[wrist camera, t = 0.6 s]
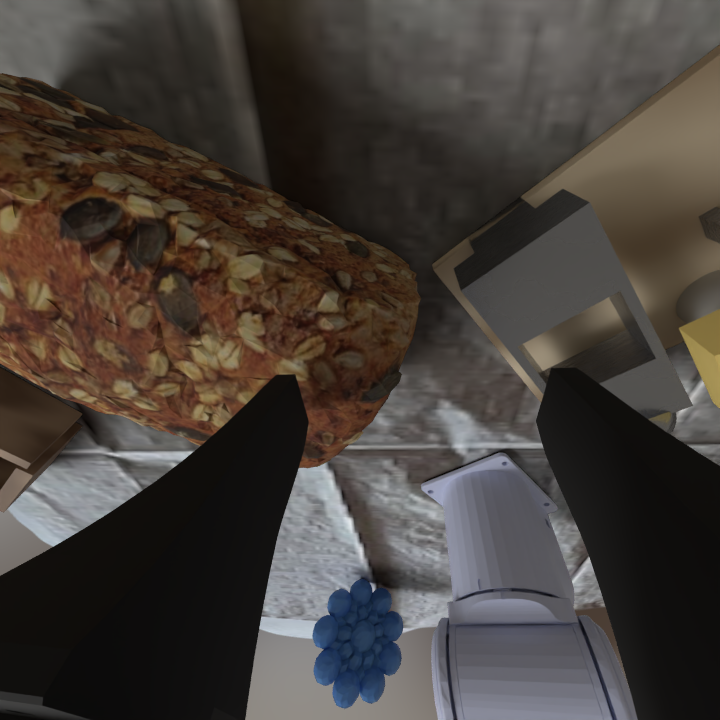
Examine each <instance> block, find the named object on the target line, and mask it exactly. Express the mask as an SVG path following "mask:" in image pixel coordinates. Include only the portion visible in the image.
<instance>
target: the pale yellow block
mask: <svg viewBox="0 0 720 720" xmlns="http://www.w3.org/2000/svg"><path fill="white" fill-rule="evenodd" d="M676 313H677V315H678V317H679V318H680V319H681V320H683V321H684V322H685V323H687V324H686V325H684V326H682V327H680V328H679V330H680V332H681V334H682V336H683V338H684V341H685V343H686V345H687V347H688V349H689V351H690V354H691V356H692V358H693V360H694V362H695V364H696V367H697V369H698V371H699V373H700V375H701V377H702V380H703V382H704V384H705V386H706V388H707V390H708V392H709V395H710V397H711V399H712V401H713V403H714V404H715V405H716V406H718V407H719V408H720V270H716V271H713V272H711V273H708V274H706V275H704V276H702V277H700V278H699V279H697V280H696V281H694V282H693V283H692V284H690V285H689V286H688V287H687V288H686V289H685V290H684V291H683V293H682V294H681V296H680V297H679V299H678V301H677V305H676Z"/></svg>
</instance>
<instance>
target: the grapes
mask: <svg viewBox="0 0 720 720" xmlns="http://www.w3.org/2000/svg"><path fill="white" fill-rule="evenodd" d="M391 604H392V599H391V594H390V593H389V592H388V590H386V589H384V588H378V589H376V590H375V591H374V592H373V593H372V587H371V584H370V583H369V582H368V581H367V580H364V579H360V580H357V581H356V582H355V583H354V584H353V585H352V586H351V589H350V593H349V592H348V591H347V590H344V589H339V590H336V591H335V592H334V593H333V594H332V595H331V596H330V598H329V601H328V607H327V608H328V612H329V614H330V615H326V616H323V617H322V618H320V619H319V621H318V622H317V623H316V624H315V627H314V630H313V640H314V643H315V645H316V646H317V647H320V648H322V649H324V650H323V651H322V652H321V653H320V654H319V656H318V657H317V658H316V662H315V666H314V675H315V678H316V681H317V682H318V683H320V684H322V685H325V686H326V685H329V684H332V683H333V682H334V685H333V698H334V701H335V703H336V705H337V706H339V707H341V708H348V707H350V706H352V705H353V703H354V702H355V701H356V699H357V698H358V696H359V693H360V696H361V698H362V700H363V701H366V702H368V703H371V704H372V703H374V702H377V701H378V699H379V698H380V697H381V695H382V693H383V691H384V687H385V677H384V674H386V675H388V676H390V675H393V674H395V673H396V671H397V670H398V668H399V666H400V664H401V659H402V658H401V651H400V648H399V647H398V645H397V644H396V643H394V642H393V641H396V640H397V639H398V638H399V637H400V635H401V634H402V631H403V621H402V617H401V616H400V615H399V614H398V613H397V612H394V611H390V612H388V611H389V609H390V608H391ZM334 680H335V681H334Z"/></svg>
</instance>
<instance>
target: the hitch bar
mask: <svg viewBox="0 0 720 720" xmlns="http://www.w3.org/2000/svg"><path fill="white" fill-rule="evenodd" d="M522 202H523V203H522ZM521 203H522V204H521ZM517 204H520V205H519V206H517ZM515 205H516V206H517V207H516V206H515ZM515 207H516V208H515ZM513 208H515V209H514V210H512V211H511V212H510V211H509V212H510V213H508V214H507V215H506V216H504V217H503V218H502V219H501V220H499V221H498V222H497V223H495V224H494V225H493V226H491V227H490V228H489V229H487V230H486V231H485V232H483V233H482V234H481V235H479V236H478V237H477V238H475V239H474V240H473V239H472V238H471V237H470V238H467V239H468V240H470V239H472V240H473V241H471V240H470V242H469V243H470V245H471V247H472V249H473V251H474V254H472V255H471V256H470V257H468V258H467V259H466V260H464V261H463V262H461V263H460V264H459V265H457V266H456V267H455V268H454V271H455V274H456V277H457V281H458V284H459V287H460V290H461V292H462V293H463V294H464V295H465V297H466V298H467V299H468V300H469V302H470V303H471V304H472V306H473V307H474V308H475V309H476V311H477V312H478V313H479V314H480V316H481V317H482V318H483V319H484V321H485V322H486V323H487V324H488V326H489V327H490V328H491V329H492V331H493V332H494V333H495V334H496V336H497V337H498V338H499V339H500V341H501V342H502V343H503V345H504V346H505V347H506V348H507V350H508V351H509V352H510V353H511V355H512V356H513V357H514V358H515V360H516V361H517V362H518V363H519V365H520V366H521V367H522V368H523V370H524V371H525V372H526V373H527V375H528V376H529V377H530V378H531V380H532V381H533V382H534V384H535V385H536V386H537V387H538V389H539V390H540V391H541V392H542V394H543V395H544V391H545V388H546V384H547V381H548V377H549V374H550V370H551V368H570V367H576V368H577V369H579V370H580V371H582V372H583V373H585V374H586V375H588V376H589V377H590V378H592V379H593V380H595V381H596V382H597V383H599V384H600V385H601V386H603V387H604V388H606V389H607V390H608V391H610V392H611V393H612V394H614V395H615V396H616V397H618V398H619V399H621V400H622V401H623V402H625V403H626V404H627V405H629V406H630V407H632V408H633V409H634V410H636V411H637V412H639V413H640V414H641V415H643V416H644V417H646V418H647V419H648V420H650V421H651V422H653V423H654V424H656V425H657V426H659V427H660V428H662V429H663V430H664V431H666V432H667V433H669V434H671V432H672V431H673V429H674V427H675V424H676V419H677V418H676V412H677V411H680V410H682V409H685V408H688V407H690V406H693V405H692V403H691V401H690V399H689V397H688V395H687V393H686V391H685V389H684V387H683V385H682V383H681V381H680V379H679V377H678V375H677V373H676V371H675V369H674V367H673V365H672V363H671V361H670V359H669V357H668V355H667V353H666V351H665V349H664V347H663V345H662V343H661V341H660V340H659V338H658V336H657V334H656V332H655V330H654V328H653V326H652V324H651V322H650V320H649V318H648V316H647V314H646V312H645V310H644V308H643V306H642V304H641V302H640V300H639V298H638V296H637V294H636V292H635V290H634V288H633V286H632V284H631V282H630V280H629V278H628V276H627V274H626V272H625V271H624V269H623V267H622V265H621V263H620V261H619V259H618V257H617V255H616V253H615V251H614V249H613V247H612V245H611V243H610V241H609V239H608V237H607V235H606V233H605V231H604V229H603V227H602V225H601V223H600V221H599V219H598V217H597V215H596V213H595V211H594V209H593V207H592V205H591V203H590V202H588V201H586V200H584V199H582V198H580V197H578V196H576V195H574V194H572V193H570V192H568V191H566V190H564V189H561V190H560V191H559V192H557V193H556V194H554V195H553V196H552V197H550V198H549V199H548V200H546V201H545V202H544V203H542V204H541V205H539V206H538V207H537V208H534V207H533V206H531V205H530V204H529V203H528V202H526V201H525V200H524V199H522V198H521V197H520V198H518V199H517V200H516V201H514V202H513V203H512V204H510V205H509V206H508V207H506V208H505V209H504V210H503V211H501V212H500V213H499V214H497V215H496V216H495V217H493V218H494V219H495V220H496V219H497V218H498V219H499V217H501V216H502V215H505V214H504V213H507V212H508V211H507V210H511V209H513ZM500 215H501V216H500ZM493 218H492V219H491V220H489V221H488V222H487V223H485V224H484V225H483V226H482V227H480V228H479V230H480V229H481V228H483V227H484V226H487V225H488V224H489V223H490V222H491V223H492V221H493V220H494V219H493ZM495 220H494V221H495ZM699 220H700V222H701V225H702V228H703V231H704V234H705V236H706V238H708V239H710V240H712V241H715V242H717V243H719V244H720V208H718V207H714V208H712V209H711V210H709V211H707V212H706V213H704V214H702V215H700V216H699ZM481 230H482V229H481ZM476 231H477V233H478V230H476ZM476 231H475V233H476ZM472 234H474V233H472ZM472 234H471V235H472ZM471 235H470V236H471ZM608 297H609V299H610V300H611V302H612V304H613V306H614V308H615V309H616V311H617V313H618V315H619V317H620V318H621V320H622V322H623V324H624V326H625V327H626V329H627V330H625V331H623V332H621V333H619V334H617V335H615V336H613V337H611V338H609V339H607V340H605V341H603V342H601V343H599V344H596V345H594V346H592V347H590V348H588V349H586V350H584V351H582V352H580V353H578V354H576V355H574V356H572V357H570V358H568V359H566V360H564V361H562V362H560V363H558V364H556V365H554V366H552V367H550V368H548V369H546V370H544V371H543V370H542V369H541V367H540V366H539V365H538V364H537V362H536V361H535V360H534V358H533V357H532V356H531V354H530V353H529V352H528V350H527V349H526V348H525V346H524V345H523V344H524V343H526V342H528V341H529V340H531V339H533V338H535V337H537V336H539V335H540V334H542V333H544V332H546V331H548V330H550V329H551V328H553V327H555V326H557V325H559V324H561V323H562V322H564V321H566V320H568V319H570V318H572V317H573V316H575V315H577V314H579V313H581V312H583V311H584V310H586V309H588V308H590V307H592V306H594V305H595V304H597V303H599V302H601V301H603V300H605V299H606V298H608Z"/></svg>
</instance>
